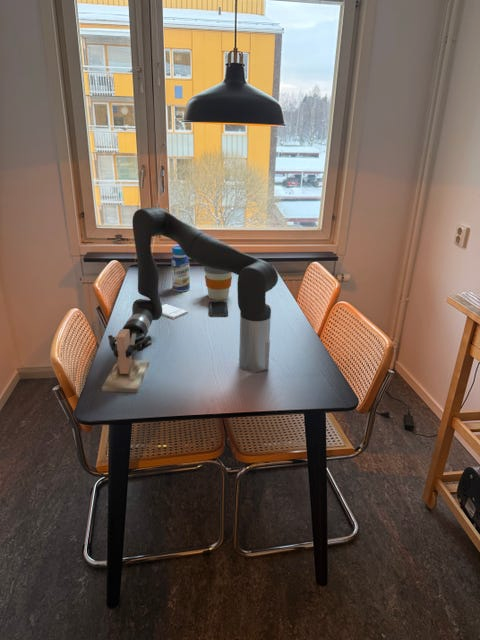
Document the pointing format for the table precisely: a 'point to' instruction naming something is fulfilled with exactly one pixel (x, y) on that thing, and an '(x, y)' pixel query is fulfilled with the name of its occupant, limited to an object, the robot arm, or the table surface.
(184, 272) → the beverage bottle
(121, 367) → the block
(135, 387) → the plate
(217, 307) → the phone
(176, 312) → the external hard drive
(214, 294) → the reusable coffee cup
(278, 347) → the table surface
